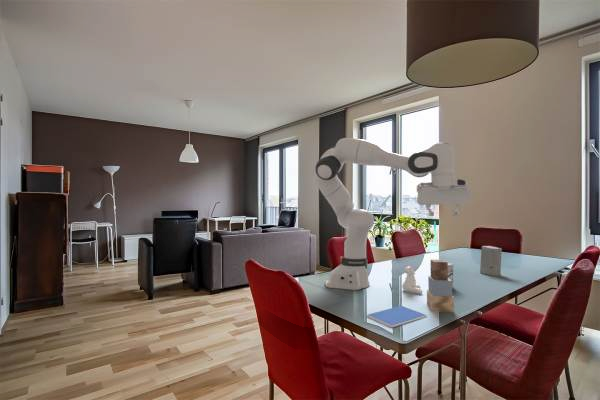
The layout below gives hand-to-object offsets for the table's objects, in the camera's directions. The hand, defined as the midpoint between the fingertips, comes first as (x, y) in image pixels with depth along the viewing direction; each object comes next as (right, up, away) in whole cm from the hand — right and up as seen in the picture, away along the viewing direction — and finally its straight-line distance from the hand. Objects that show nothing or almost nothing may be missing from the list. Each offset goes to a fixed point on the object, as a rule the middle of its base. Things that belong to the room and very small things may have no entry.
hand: (443, 215), depth 125 cm
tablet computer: (-23, -38, -12) cm, 46 cm away
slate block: (-3, -31, -4) cm, 31 cm away
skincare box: (+51, -37, +50) cm, 80 cm away
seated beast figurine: (-6, -37, +19) cm, 42 cm away
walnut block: (-3, -25, -4) cm, 25 cm away
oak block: (-3, -37, -3) cm, 37 cm away
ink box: (+12, -37, +25) cm, 46 cm away
